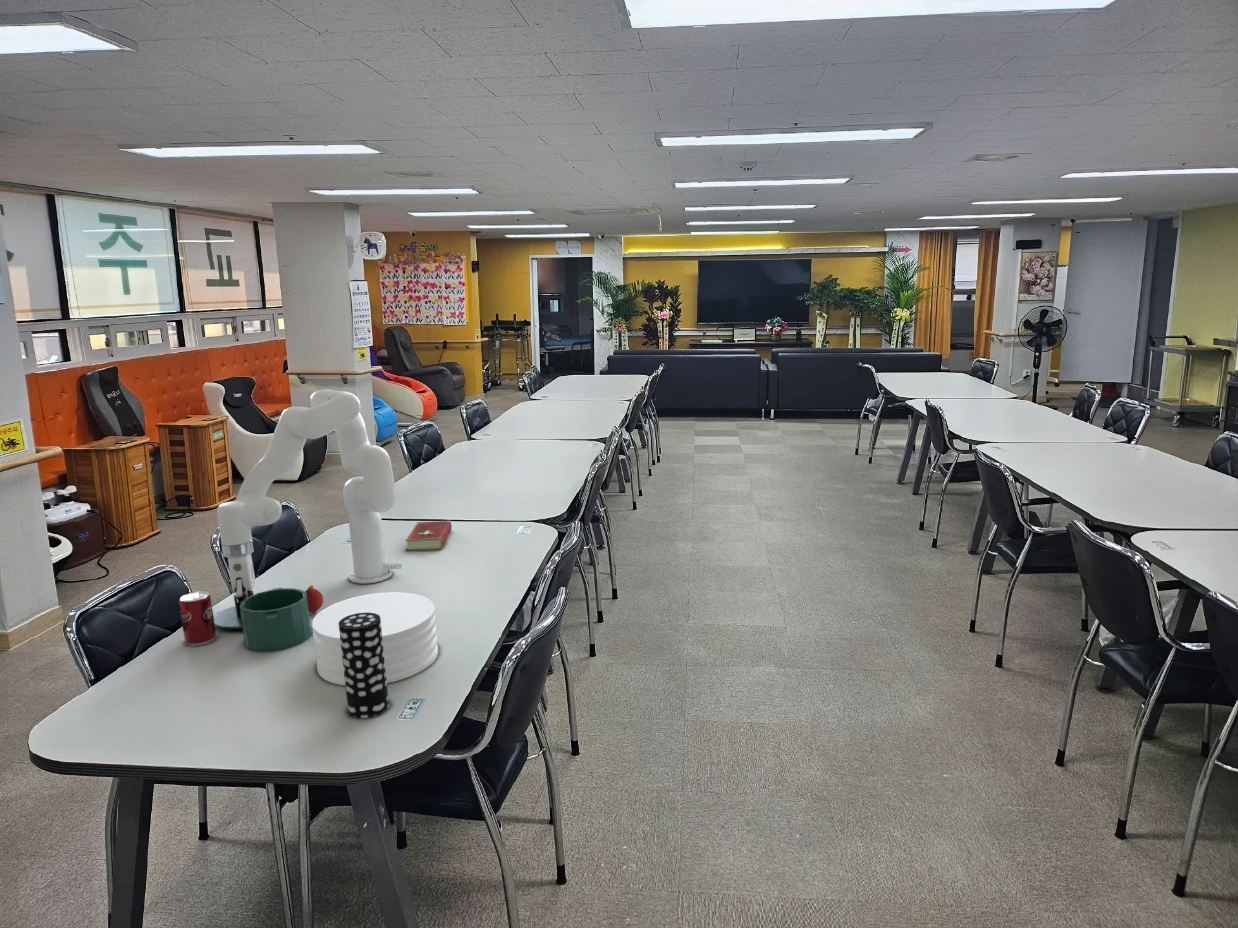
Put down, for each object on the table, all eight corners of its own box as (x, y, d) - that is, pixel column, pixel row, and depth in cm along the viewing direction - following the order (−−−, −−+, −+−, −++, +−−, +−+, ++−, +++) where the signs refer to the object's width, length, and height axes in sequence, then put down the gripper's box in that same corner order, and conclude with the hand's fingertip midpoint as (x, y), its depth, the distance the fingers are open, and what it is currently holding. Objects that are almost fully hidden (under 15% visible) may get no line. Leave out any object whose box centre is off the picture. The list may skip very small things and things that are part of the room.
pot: (312, 618, 223) (307, 581, 221) (309, 649, 204) (304, 610, 202) (250, 626, 219) (245, 589, 216) (240, 660, 199) (235, 619, 197)
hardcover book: (451, 531, 298) (451, 519, 297) (442, 549, 278) (441, 537, 277) (418, 532, 298) (417, 521, 297) (406, 551, 277) (405, 539, 276)
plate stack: (373, 697, 179) (369, 648, 177) (291, 668, 194) (286, 623, 191) (462, 648, 202) (458, 604, 200) (382, 625, 217) (378, 585, 214)
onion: (317, 617, 223) (313, 590, 222) (297, 616, 224) (294, 589, 223) (328, 609, 229) (325, 582, 227) (309, 608, 230) (306, 581, 228)
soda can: (185, 648, 206) (178, 603, 204) (185, 638, 213) (178, 594, 210) (217, 642, 210) (210, 598, 207) (216, 632, 216) (209, 589, 213)
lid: (282, 602, 234) (279, 578, 232) (277, 625, 218) (274, 599, 216) (217, 611, 229) (213, 586, 227) (208, 634, 213) (204, 608, 211)
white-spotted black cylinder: (353, 699, 179) (343, 613, 174) (392, 697, 179) (383, 611, 175) (344, 719, 170) (334, 629, 166) (384, 716, 171) (375, 627, 167)
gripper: (249, 555, 212) (258, 621, 216) (256, 537, 228) (263, 598, 232) (217, 559, 210) (226, 625, 214) (226, 540, 226) (234, 602, 230)
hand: (246, 611), depth 223 cm, fingers closed on lid, 4 cm apart
